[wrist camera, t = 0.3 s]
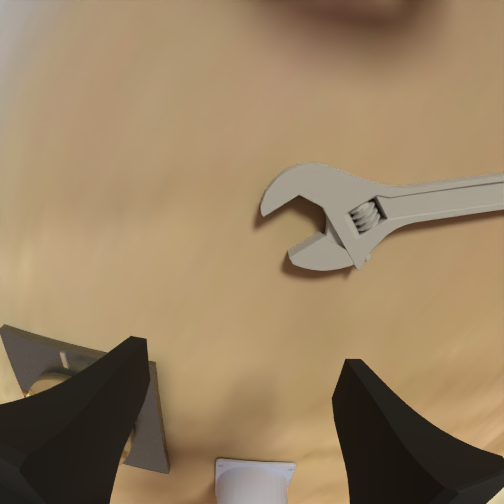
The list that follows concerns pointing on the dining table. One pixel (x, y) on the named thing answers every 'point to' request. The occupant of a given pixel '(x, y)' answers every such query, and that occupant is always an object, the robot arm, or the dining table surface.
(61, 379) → the rotary dial knob
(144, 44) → the dining table surface
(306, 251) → the adjustable wrench
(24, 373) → the base plate
